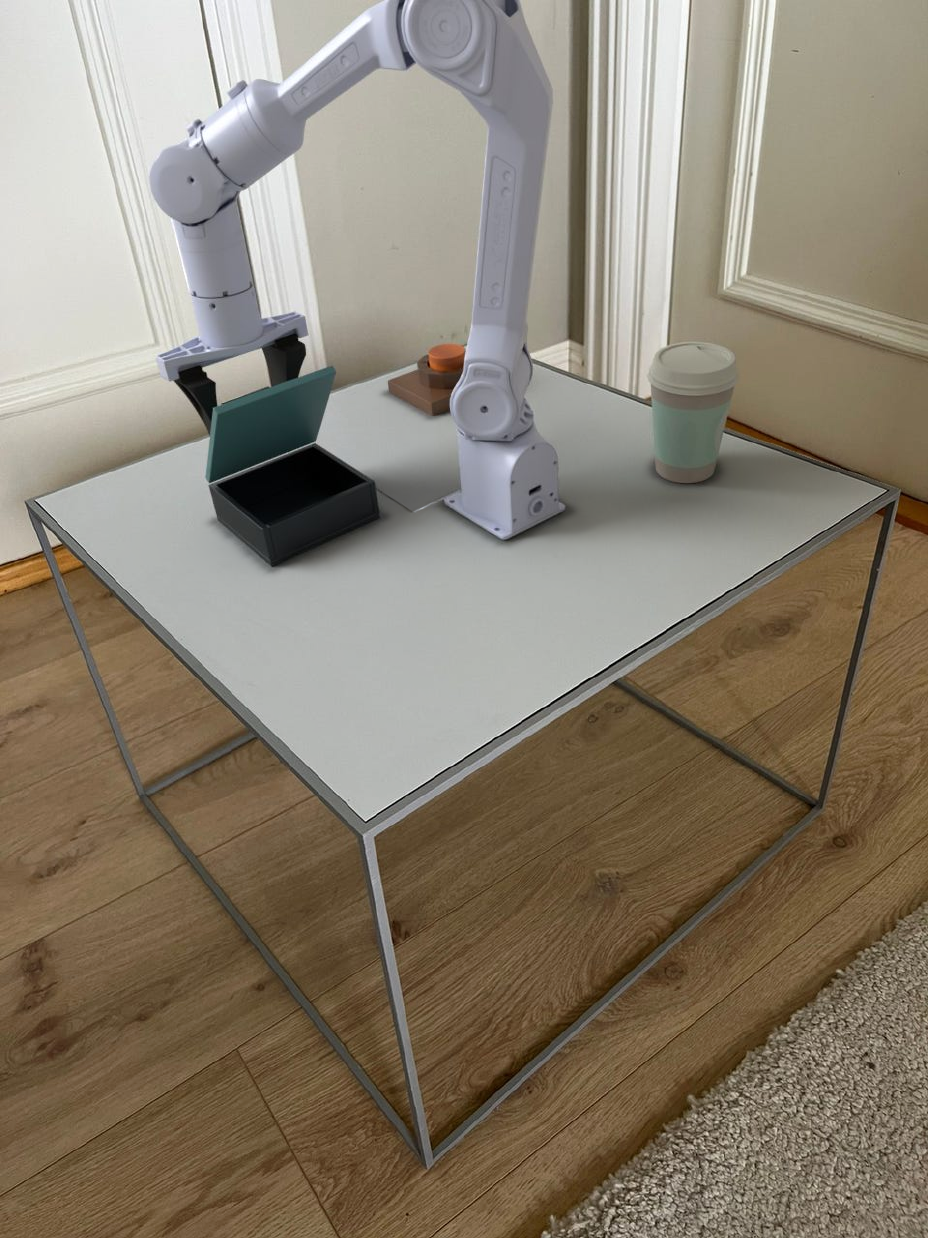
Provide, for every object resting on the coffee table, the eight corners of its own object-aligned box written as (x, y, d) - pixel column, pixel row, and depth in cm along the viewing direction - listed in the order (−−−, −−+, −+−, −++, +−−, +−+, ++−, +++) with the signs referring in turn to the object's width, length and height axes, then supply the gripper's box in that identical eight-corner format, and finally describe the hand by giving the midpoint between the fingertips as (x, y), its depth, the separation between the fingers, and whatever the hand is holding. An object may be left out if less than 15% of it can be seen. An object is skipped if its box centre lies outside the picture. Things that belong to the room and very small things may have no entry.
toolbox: (336, 371, 87) (309, 330, 88) (217, 414, 81) (189, 370, 82) (316, 441, 97) (292, 404, 98) (208, 484, 92) (184, 444, 93)
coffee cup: (728, 492, 92) (742, 376, 85) (640, 488, 94) (646, 374, 86) (727, 450, 99) (740, 339, 91) (644, 447, 100) (650, 338, 93)
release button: (451, 354, 116) (450, 340, 115) (473, 364, 113) (472, 350, 112) (422, 365, 114) (421, 351, 113) (444, 375, 111) (443, 361, 110)
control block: (465, 363, 121) (464, 337, 119) (511, 384, 115) (510, 357, 113) (388, 393, 115) (385, 366, 113) (432, 416, 110) (429, 388, 108)
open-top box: (380, 517, 93) (375, 481, 90) (271, 567, 87) (262, 529, 85) (321, 477, 100) (315, 442, 98) (217, 520, 95) (207, 484, 92)
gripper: (271, 257, 90) (296, 390, 99) (127, 298, 84) (167, 437, 92) (308, 273, 86) (331, 411, 94) (159, 318, 79) (199, 462, 87)
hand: (252, 425), depth 93 cm, fingers open, 7 cm apart
